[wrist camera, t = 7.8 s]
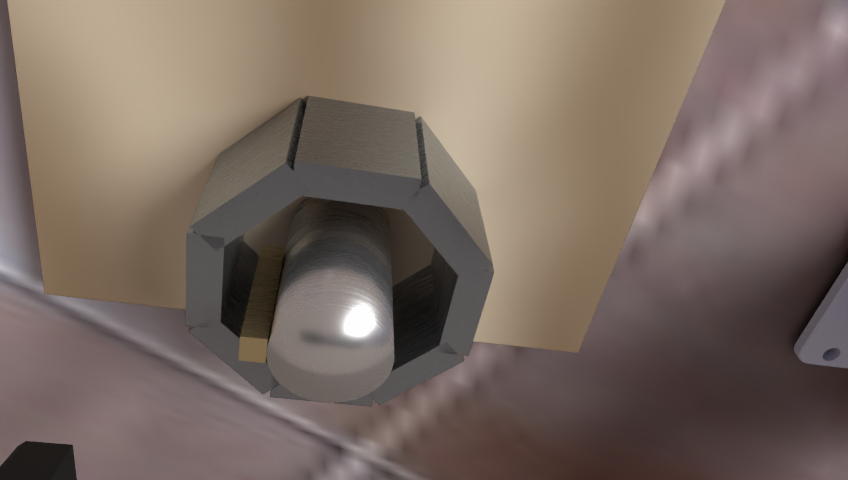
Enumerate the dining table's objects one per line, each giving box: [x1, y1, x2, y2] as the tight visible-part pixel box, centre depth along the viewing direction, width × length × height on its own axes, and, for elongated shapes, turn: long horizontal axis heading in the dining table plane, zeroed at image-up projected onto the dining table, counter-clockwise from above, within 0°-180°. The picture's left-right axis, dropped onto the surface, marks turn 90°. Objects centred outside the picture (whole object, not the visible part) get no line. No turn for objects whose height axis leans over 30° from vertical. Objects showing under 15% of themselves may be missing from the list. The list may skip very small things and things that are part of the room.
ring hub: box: [185, 95, 494, 407], centre depth 16 cm, size 6×6×3 cm
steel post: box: [238, 197, 394, 403], centre depth 15 cm, size 3×2×4 cm
